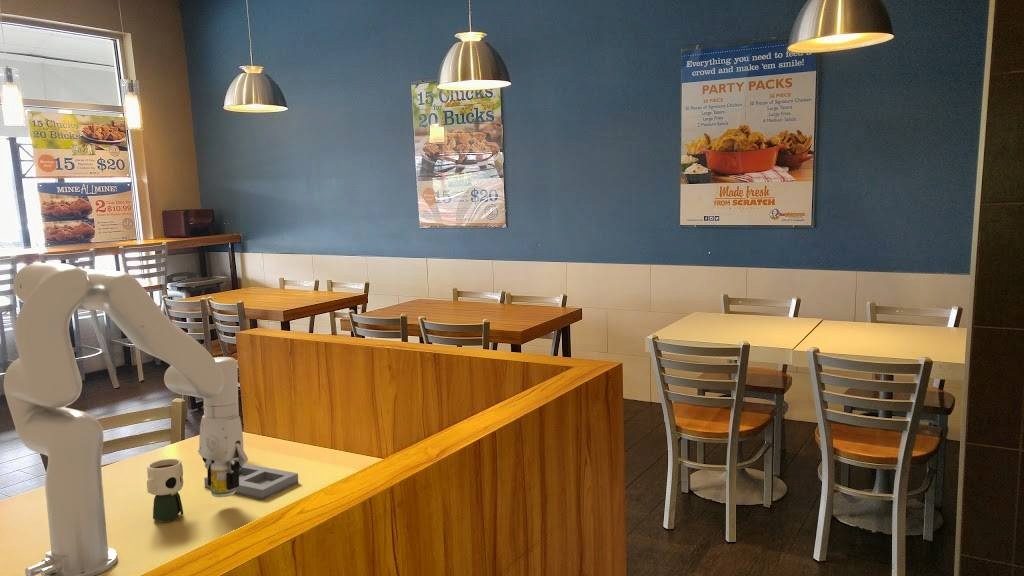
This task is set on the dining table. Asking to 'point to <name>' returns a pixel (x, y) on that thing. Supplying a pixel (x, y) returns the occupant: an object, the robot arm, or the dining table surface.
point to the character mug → (165, 488)
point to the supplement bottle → (220, 480)
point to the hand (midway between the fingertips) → (223, 485)
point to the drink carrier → (262, 481)
